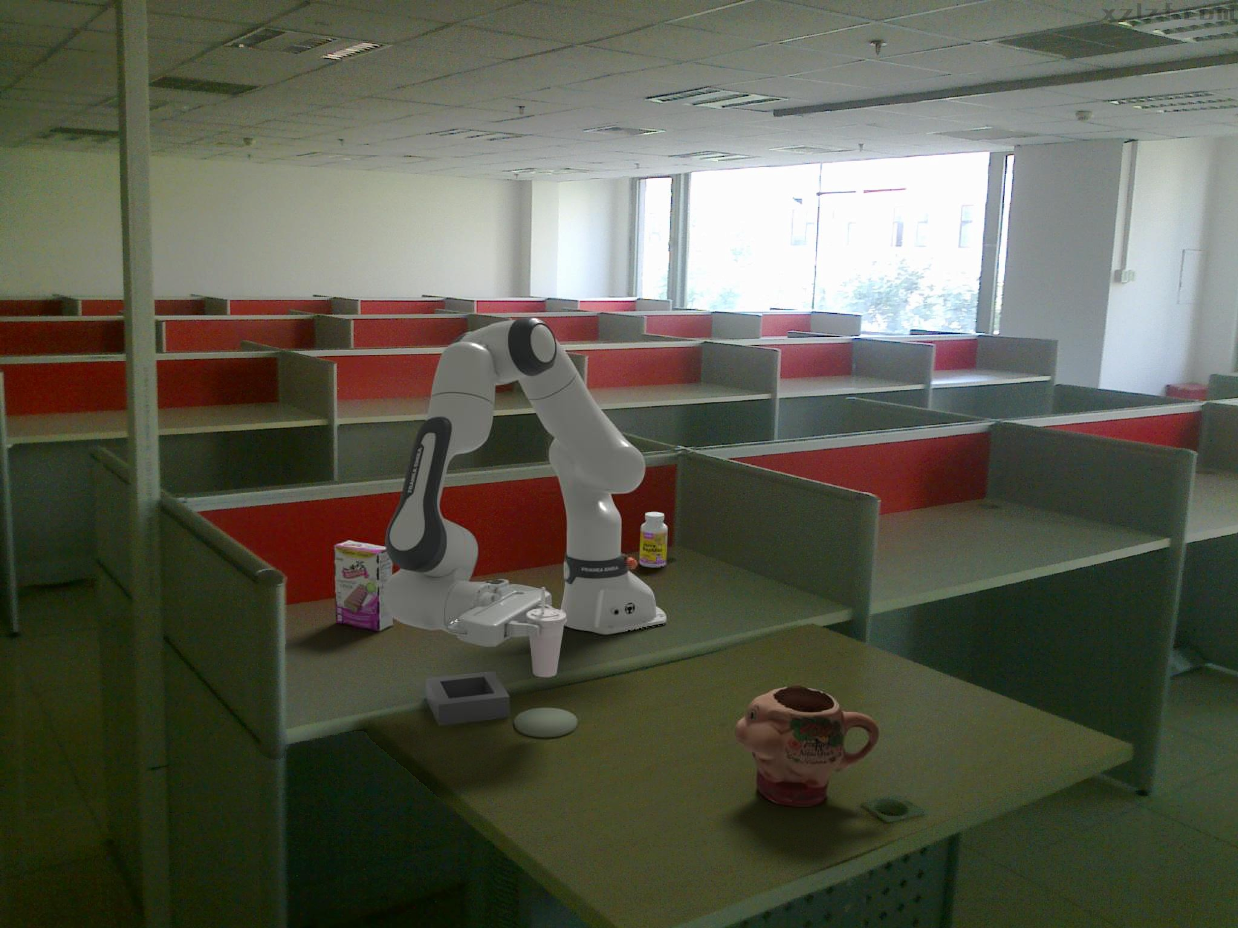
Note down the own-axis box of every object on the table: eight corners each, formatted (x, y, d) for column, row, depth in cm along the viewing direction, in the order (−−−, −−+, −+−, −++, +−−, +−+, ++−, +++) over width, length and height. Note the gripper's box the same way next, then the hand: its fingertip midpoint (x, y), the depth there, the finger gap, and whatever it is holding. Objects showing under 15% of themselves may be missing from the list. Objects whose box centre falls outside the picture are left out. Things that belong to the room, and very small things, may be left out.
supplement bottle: (637, 567, 261) (638, 516, 258) (641, 560, 267) (642, 510, 265) (664, 569, 260) (666, 517, 257) (667, 562, 266) (669, 511, 264)
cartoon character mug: (859, 770, 157) (866, 681, 154) (885, 812, 145) (893, 716, 143) (725, 771, 156) (729, 681, 153) (740, 813, 144) (745, 716, 141)
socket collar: (492, 690, 183) (493, 670, 182) (509, 716, 172) (509, 696, 172) (425, 697, 179) (425, 678, 178) (438, 725, 168) (438, 704, 168)
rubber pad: (566, 707, 176) (566, 704, 176) (585, 732, 167) (585, 729, 167) (507, 715, 173) (507, 711, 173) (523, 740, 164) (523, 737, 164)
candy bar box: (334, 623, 214) (332, 544, 211) (350, 616, 219) (348, 539, 216) (379, 632, 210) (378, 552, 207) (394, 625, 214) (393, 546, 211)
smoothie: (524, 665, 171) (526, 581, 169) (564, 665, 172) (566, 581, 169) (524, 680, 165) (526, 593, 163) (565, 680, 166) (568, 594, 163)
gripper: (439, 609, 162) (519, 623, 157) (505, 575, 181) (579, 587, 175) (439, 648, 163) (518, 664, 158) (505, 611, 182) (578, 624, 176)
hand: (551, 623), depth 167 cm, fingers closed on smoothie, 6 cm apart
